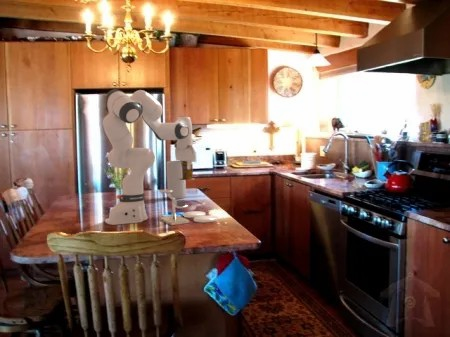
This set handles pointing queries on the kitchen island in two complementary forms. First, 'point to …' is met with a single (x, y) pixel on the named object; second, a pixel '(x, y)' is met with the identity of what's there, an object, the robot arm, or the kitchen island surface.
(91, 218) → the kitchen island surface
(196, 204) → the kitchen island surface
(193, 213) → the far dish
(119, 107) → the robot arm
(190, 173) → the condiment
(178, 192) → the cylinder vase
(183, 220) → the balance
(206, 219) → the near dish
